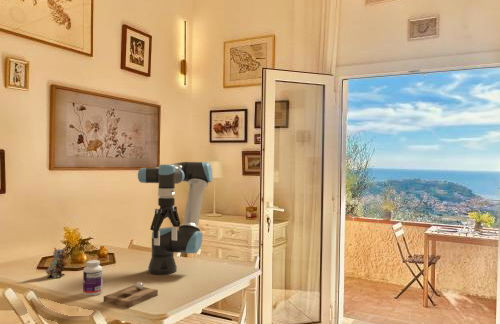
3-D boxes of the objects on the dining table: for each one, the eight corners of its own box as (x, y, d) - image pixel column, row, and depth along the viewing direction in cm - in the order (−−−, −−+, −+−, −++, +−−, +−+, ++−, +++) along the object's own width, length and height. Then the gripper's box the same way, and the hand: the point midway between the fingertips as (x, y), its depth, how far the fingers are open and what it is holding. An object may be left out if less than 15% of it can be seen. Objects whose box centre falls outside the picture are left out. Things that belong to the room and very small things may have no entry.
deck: (103, 302, 175) (103, 296, 175) (133, 290, 191) (133, 285, 191) (128, 308, 169) (128, 301, 169) (157, 295, 185) (157, 289, 185)
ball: (133, 290, 184) (133, 282, 184) (139, 288, 187) (139, 280, 187) (139, 291, 182) (139, 283, 182) (145, 289, 185) (145, 281, 185)
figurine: (57, 273, 218) (57, 244, 218) (69, 275, 214) (69, 246, 214) (42, 277, 210) (43, 247, 210) (55, 279, 206) (55, 249, 206)
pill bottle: (86, 290, 190) (86, 259, 190) (104, 290, 191) (104, 259, 191) (80, 296, 182) (80, 263, 182) (99, 296, 183) (99, 263, 183)
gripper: (156, 199, 182) (155, 248, 182) (188, 195, 204) (187, 239, 204) (142, 198, 185) (142, 246, 185) (175, 195, 207) (174, 237, 207)
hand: (165, 242), depth 194 cm, fingers open, 13 cm apart
